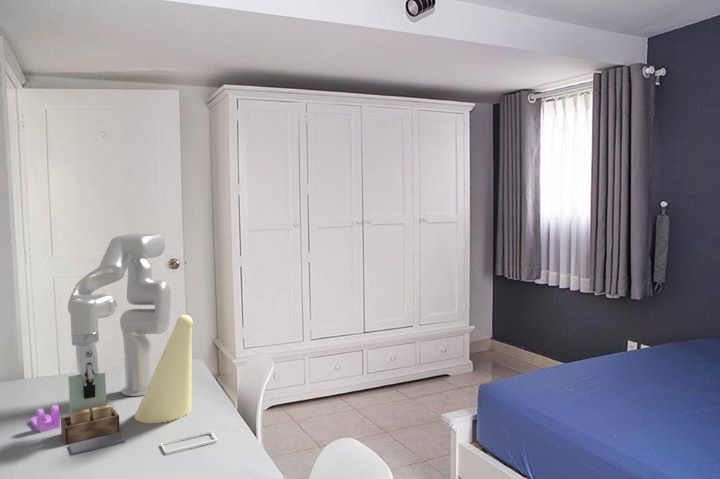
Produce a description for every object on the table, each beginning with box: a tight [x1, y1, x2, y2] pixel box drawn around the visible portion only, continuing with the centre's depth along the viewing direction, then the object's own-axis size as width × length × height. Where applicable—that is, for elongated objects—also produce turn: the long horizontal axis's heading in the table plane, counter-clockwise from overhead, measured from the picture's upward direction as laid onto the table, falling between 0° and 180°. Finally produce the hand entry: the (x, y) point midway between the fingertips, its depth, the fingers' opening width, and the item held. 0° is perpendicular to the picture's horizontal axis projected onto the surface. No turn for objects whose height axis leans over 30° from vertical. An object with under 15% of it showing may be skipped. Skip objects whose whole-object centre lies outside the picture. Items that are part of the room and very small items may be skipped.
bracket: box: [30, 404, 61, 433], centre depth 176 cm, size 13×6×7 cm, turn 46°
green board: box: [67, 370, 107, 416], centre depth 170 cm, size 10×2×18 cm, turn 126°
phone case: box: [160, 430, 218, 455], centre depth 159 cm, size 7×1×15 cm
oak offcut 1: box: [69, 409, 90, 425], centre depth 165 cm, size 5×2×8 cm, turn 126°
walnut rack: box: [60, 406, 121, 445], centre depth 168 cm, size 15×9×5 cm, turn 126°
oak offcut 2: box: [92, 404, 112, 421], centre depth 168 cm, size 5×2×8 cm, turn 126°
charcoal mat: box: [68, 431, 126, 456], centre depth 160 cm, size 14×7×1 cm, turn 126°
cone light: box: [134, 314, 194, 424], centre depth 181 cm, size 25×18×35 cm
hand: (87, 394), depth 170 cm, fingers open, 5 cm apart
